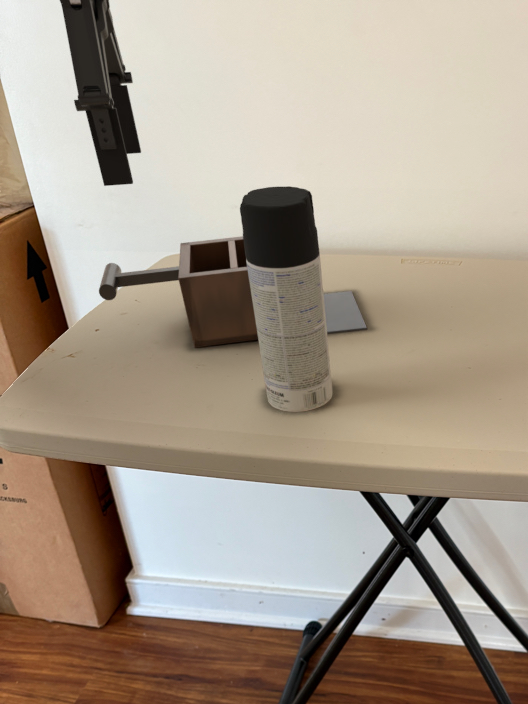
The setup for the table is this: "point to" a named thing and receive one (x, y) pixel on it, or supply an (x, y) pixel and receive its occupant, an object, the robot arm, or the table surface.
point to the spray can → (287, 296)
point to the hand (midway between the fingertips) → (124, 168)
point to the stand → (342, 313)
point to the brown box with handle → (202, 289)
